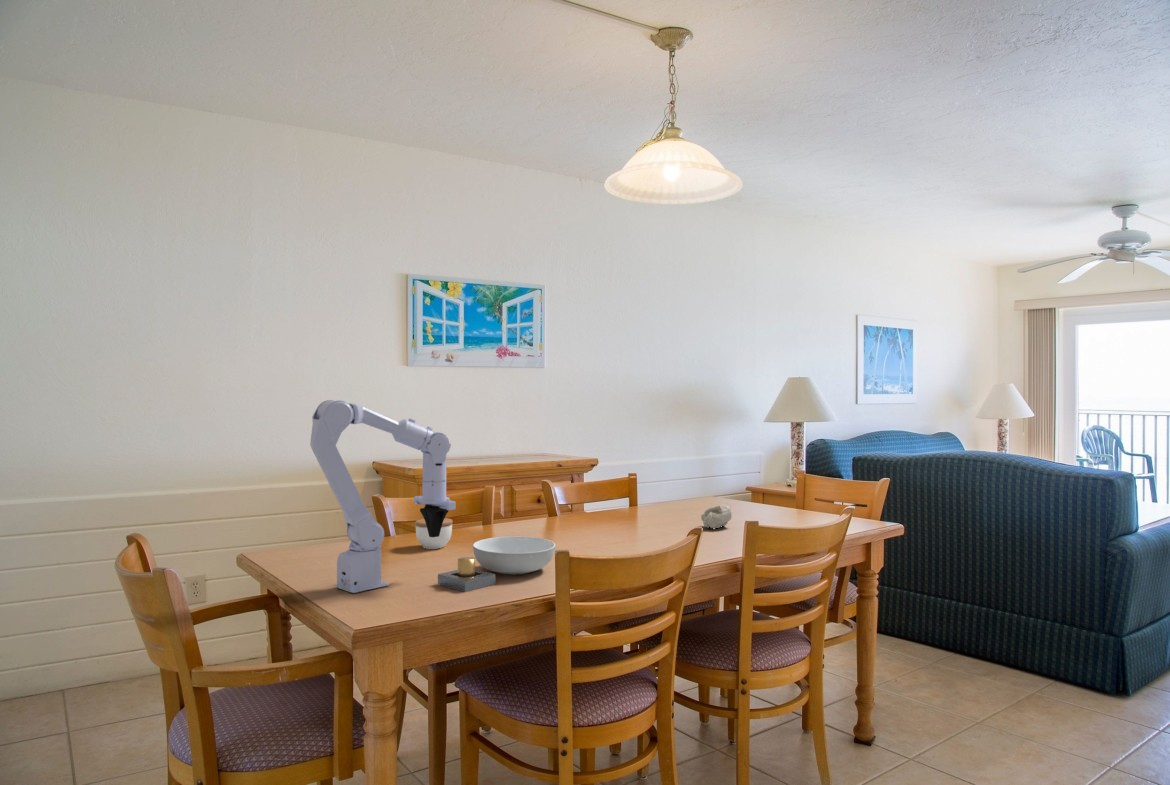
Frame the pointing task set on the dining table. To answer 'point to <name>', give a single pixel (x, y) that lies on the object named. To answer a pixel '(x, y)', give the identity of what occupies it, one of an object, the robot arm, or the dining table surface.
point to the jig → (466, 580)
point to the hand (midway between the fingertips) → (434, 536)
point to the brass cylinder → (466, 567)
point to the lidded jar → (433, 541)
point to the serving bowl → (514, 554)
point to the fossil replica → (717, 516)
